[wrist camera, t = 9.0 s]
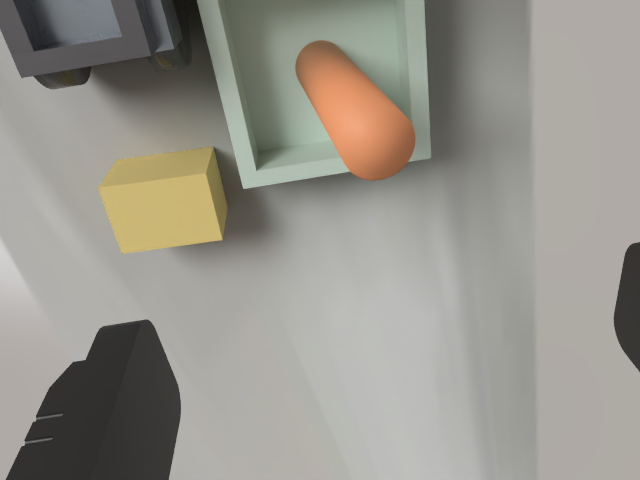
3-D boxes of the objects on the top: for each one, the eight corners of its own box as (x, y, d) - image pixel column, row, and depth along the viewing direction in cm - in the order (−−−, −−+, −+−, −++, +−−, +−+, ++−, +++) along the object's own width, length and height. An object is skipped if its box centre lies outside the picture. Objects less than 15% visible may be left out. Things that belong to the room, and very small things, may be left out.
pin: (291, 45, 25) (336, 115, 16) (342, 35, 25) (414, 100, 16) (299, 97, 26) (345, 186, 17) (348, 87, 26) (417, 171, 18)
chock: (117, 159, 28) (97, 188, 25) (213, 145, 28) (205, 173, 25) (137, 219, 30) (122, 253, 27) (228, 207, 30) (222, 240, 27)
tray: (201, -25, 24) (192, -18, 21) (406, -60, 24) (421, -58, 21) (246, 164, 28) (243, 189, 26) (417, 136, 28) (431, 158, 26)
